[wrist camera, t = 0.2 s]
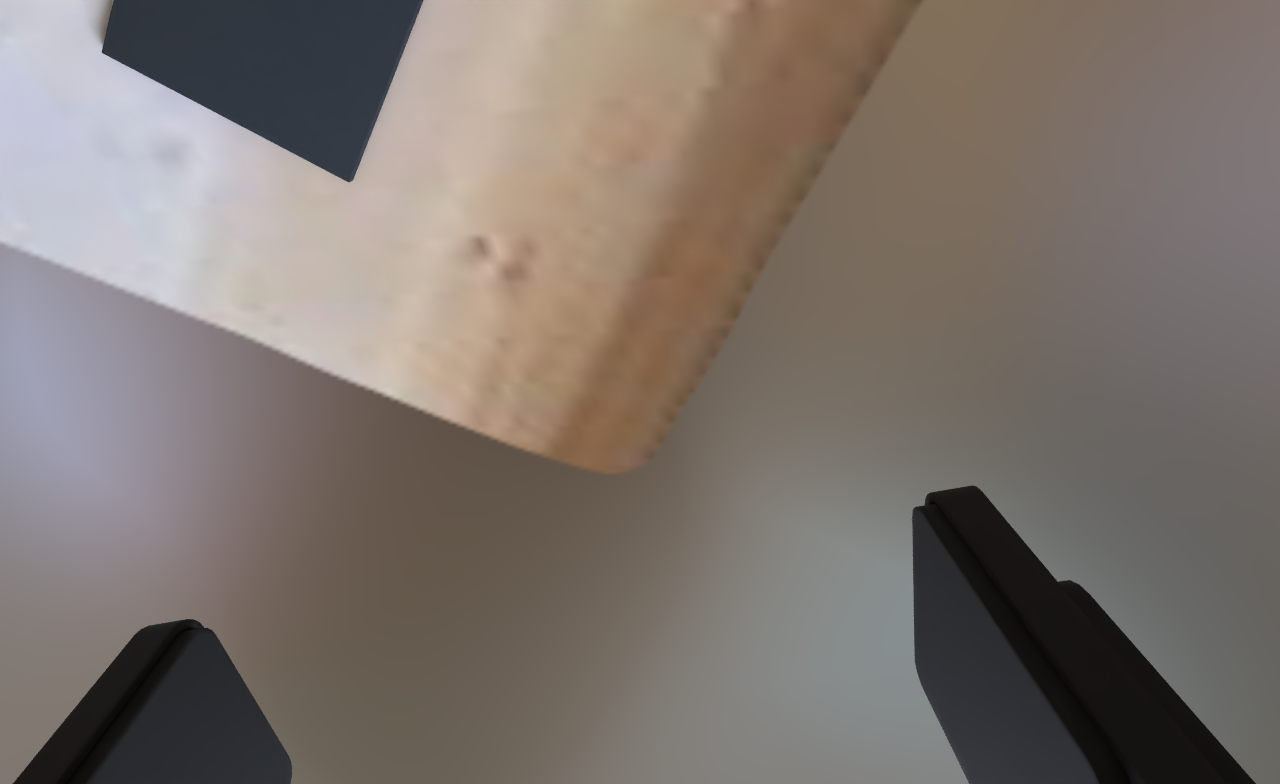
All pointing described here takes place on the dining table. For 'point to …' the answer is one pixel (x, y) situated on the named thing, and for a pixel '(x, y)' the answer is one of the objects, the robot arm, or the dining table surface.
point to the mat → (274, 64)
